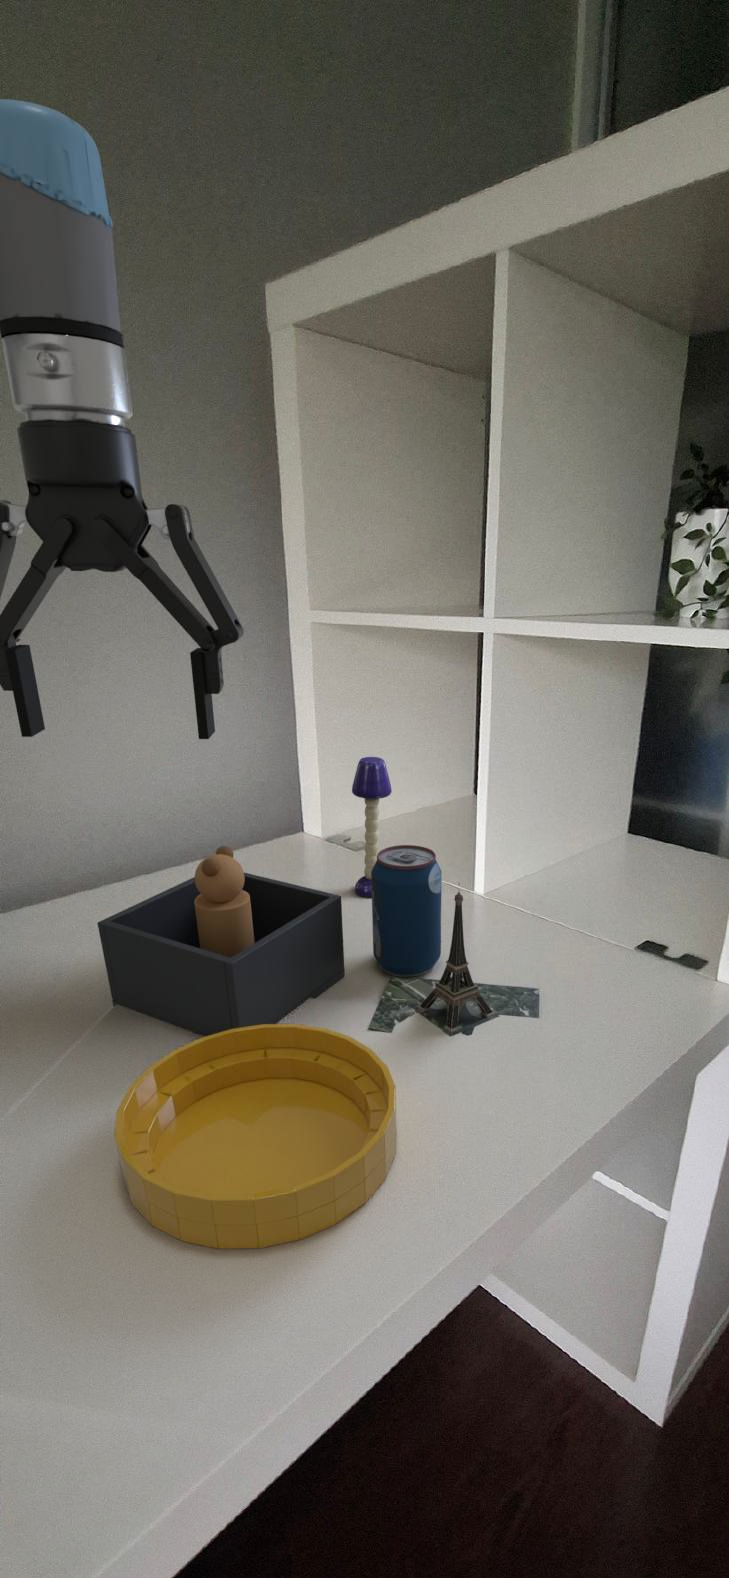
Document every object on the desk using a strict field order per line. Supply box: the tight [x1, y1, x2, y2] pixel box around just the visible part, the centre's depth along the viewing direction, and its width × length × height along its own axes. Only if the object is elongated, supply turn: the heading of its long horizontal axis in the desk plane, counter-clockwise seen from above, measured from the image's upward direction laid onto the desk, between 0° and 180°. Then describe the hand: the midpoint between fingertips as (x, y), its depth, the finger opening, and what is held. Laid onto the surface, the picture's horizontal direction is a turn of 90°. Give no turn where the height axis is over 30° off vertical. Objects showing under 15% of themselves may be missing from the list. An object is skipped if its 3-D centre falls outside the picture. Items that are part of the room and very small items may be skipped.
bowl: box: [114, 1023, 397, 1250], centre depth 57 cm, size 19×19×4 cm
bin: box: [96, 872, 346, 1037], centre depth 76 cm, size 16×16×9 cm
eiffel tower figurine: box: [368, 882, 541, 1038], centre depth 71 cm, size 15×10×13 cm
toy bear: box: [194, 845, 255, 958], centre depth 75 cm, size 5×5×14 cm
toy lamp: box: [351, 756, 393, 898], centre depth 96 cm, size 5×5×17 cm
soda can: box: [371, 844, 443, 978], centre depth 80 cm, size 7×7×12 cm
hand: (120, 734), depth 64 cm, fingers open, 13 cm apart
